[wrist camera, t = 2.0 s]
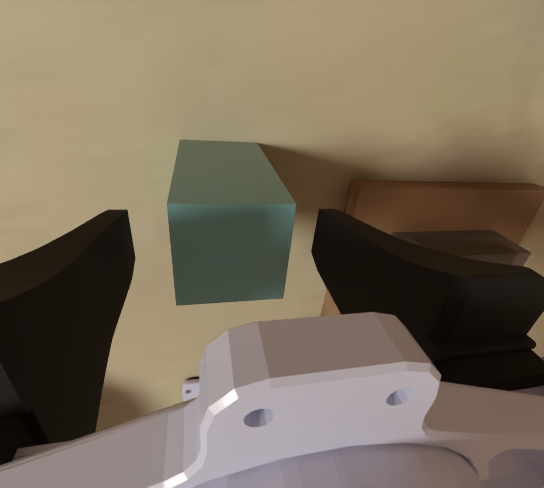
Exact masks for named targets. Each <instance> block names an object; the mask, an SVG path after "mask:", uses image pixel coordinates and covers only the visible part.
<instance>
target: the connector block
mask: <svg viewBox="0 0 544 488" xmlns="http://www.w3.org/2000/svg"><path fill="white" fill-rule="evenodd" d="M167 210H168V221H169V232H170V243H171V253H172V264H173V275H174V286H175V297H176V306H178V305H192V304H207V303H222V302H237V301H251V300H266V299H281V298H283V296H284V289H285V282H286V275H287V268H288V260H289V253H290V246H291V239H292V232H293V225H294V217H295V210H296V203H295V201H294V199H293V198H292V196H291V195H290V193H289V192H288V190H287V189H286V187H285V185H284V184H283V182H282V181H281V179H280V178H279V176H278V175H277V173H276V171H275V170H274V168H273V167H272V165H271V164H270V162H269V161H268V159H267V157H266V156H265V154H264V153H263V151H262V150H261V148H260V147H259V145H258V143H247V142H224V141H200V140H180V142H179V147H178V152H177V157H176V162H175V167H174V172H173V177H172V181H171V186H170V191H169V196H168V201H167Z"/></svg>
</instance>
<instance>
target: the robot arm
mask: <svg viewBox="0 0 544 488" xmlns="http://www.w3.org/2000/svg"><path fill="white" fill-rule="evenodd" d="M311 252H312V255H313V259H314V262H315V265H316V267H317V270H318V272H319V274H320V276H321V278H322V280H323V282H324V284H325V286H326V288H327V289H328V291H329V293H330V295H331V297H332V299H333V301H334V302H335V304H336V306H337V308H338V310H339V312H340V314H341V315H331V316H319V317H307V318H295V319H283V320H271V321H259V322H253V323H250V324H246V325H242V326H239V327H235V328H231V329H229V330H227V331H226V332H225V333H223V334H222V335H221V336H219V337H218V338H217V339H216V340H214V341H213V342H212V343H210V344H209V345H208V346H207V347H206V349H205V352H204V355H203V357H202V360H201V363H200V366H199V379H193V380H186V381H184V382H183V383H182V393H183V402H181V403H178V404H175V405H172V406H170V407H167V408H164V409H161V410H158V411H155V412H152V413H149V414H146V415H144V416H141V417H138V418H135V419H132V420H129V421H126V422H123V423H121V424H118V425H115V426H112V427H109V428H106V429H103V430H100V431H98V432H95V430H96V424H97V418H98V412H99V406H100V400H101V394H102V388H103V383H104V377H105V372H106V367H107V362H108V357H109V352H110V347H111V343H112V339H113V335H114V332H115V328H116V325H117V322H118V319H119V317H120V314H121V311H122V308H123V305H124V302H125V299H126V296H127V293H128V290H129V287H130V284H131V281H132V275H133V270H134V263H135V253H134V247H133V241H132V235H131V229H130V223H129V217H128V211H127V210H107V211H105V212H103V213H101V214H99V215H97V216H96V217H94V218H92V219H90V220H89V221H87V222H85V223H84V224H82V225H80V226H79V227H77V228H75V229H74V230H72V231H70V232H68V233H67V234H65V235H63V236H61V237H59V238H57V239H55V240H53V241H52V242H50V243H48V244H46V245H44V246H42V247H40V248H38V249H35V250H33V251H31V252H29V253H26V254H24V255H21V256H19V257H17V258H14V259H12V260H9V261H6V262H3V263H1V264H0V488H544V357H542V358H540V357H539V356H538V355H537V354H536V353H535V352H533V351H532V350H531V349H534V348H535V346H536V343H535V341H533V340H532V339H531V338H530V337H529V336H528V335H527V333H528V332H529V330H530V329H531V327H532V326H533V325H534V323H535V322H536V321H537V319H538V318H539V316H540V315H541V314H542V312H543V311H544V277H543V276H541V275H540V274H538V273H537V272H535V271H534V270H532V269H530V268H527V267H523V266H515V265H508V264H500V263H493V262H486V261H480V260H475V259H470V258H465V257H460V256H456V255H451V254H447V253H444V252H440V251H436V250H432V249H429V248H426V247H422V246H419V245H417V244H414V243H411V242H408V241H405V240H402V239H400V238H397V237H395V236H393V235H390V234H388V233H386V232H383V231H381V230H379V229H377V228H375V227H373V226H370V225H368V224H366V223H364V222H362V221H360V220H358V219H356V218H354V217H352V216H350V215H348V214H346V213H344V212H341V211H339V210H336V209H319V213H318V218H317V223H316V229H315V234H314V240H313V245H312V250H311Z"/></svg>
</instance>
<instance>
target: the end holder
mask: <svg viewBox="0 0 544 488" xmlns="http://www.w3.org/2000/svg"><path fill="white" fill-rule="evenodd" d="M543 200H544V188H543V187H540V186H538V185H535V184H518V183H460V182H403V181H352V182H351V187H350V191H349V195H348V200H347V204H346V208H345V213H346V214H348V215H350V216H352V217H354V218H356V219H358V220H360V221H362V222H364V223H366V224H368V225H370V226H373V227H375V228H377V229H379V230H381V231H383V232H386V233H388V234H390V235H393V236H395V237H397V238H400V239H402V240H405V241H408V242H411V243H414V244H417V245H419V246H422V247H426V248H429V249H432V250H436V251H440V252H444V253H447V254H451V255H456V256H460V257H465V258H470V259H475V260H480V261H486V262H493V263H500V264H508V265H515V266H523V265H524V263H525V262H526V260H527V258H528V257H529V255H530V254H531V253H530V252H529V251H527V250H525V249H524V248H522V247H520V246H519V245H518V244H519V242H520V240H521V238H522V237H523V235H524V233H525V232H526V230H527V228H528V226H529V225H530V223H531V221H532V219H533V218H534V216H535V214H536V213H537V211H538V209H539V207H540V206H541V204H542V202H543ZM331 315H341V314H340V312H339V310H338V308H337V306H336V304H335V302H334V301H333V299H332V297H331V295H330V293H329V291H328V289H327V291H326V296H325V300H324V304H323V309H322V313H321V316H331Z"/></svg>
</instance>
